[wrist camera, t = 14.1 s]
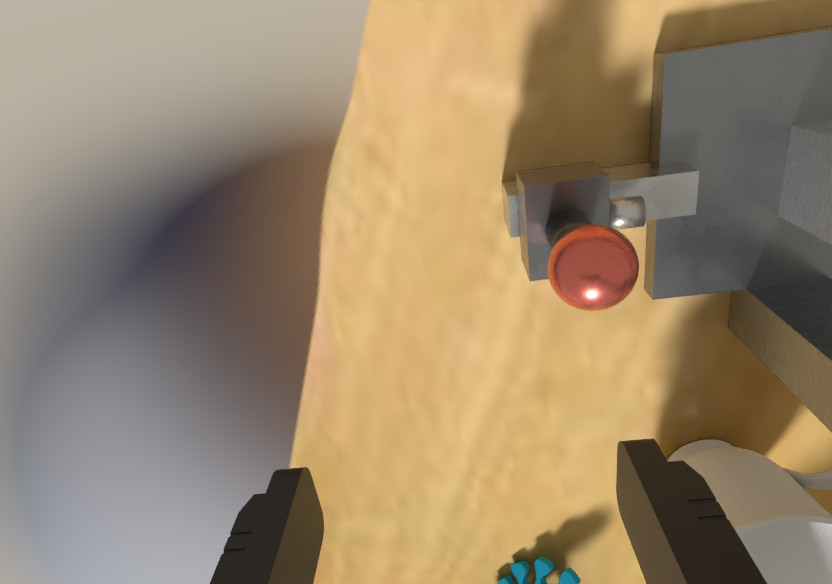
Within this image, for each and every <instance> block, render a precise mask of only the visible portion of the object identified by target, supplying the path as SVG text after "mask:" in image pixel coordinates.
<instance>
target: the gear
mask: <svg viewBox="0 0 832 584" xmlns="http://www.w3.org/2000/svg"><path fill="white" fill-rule="evenodd" d="M534 566H535V570H536V581H535V584H547V582H546V581H545V575H547V574H548V573H549V572H551V571H552V569H553V562H552V561H550V560H549V559H547V558H545V557H542V556H541V557H539V558H538V559H537V560H536V561H535V564H534ZM511 570H512V572H513V574H514V575H515V577H516V578H517V580H518V583H519V584H530V583H529V582H528V580H527V575H528V572H529V564H528V562H527V561H518V562H515V563H514V564H512V565H511ZM579 583H580V578H579V577H578V575H577V574H576V573H575V572H574V571H573V570H572V569H571V568H568V569H566V570H565V571H564V572H563V573H562V574H561V578H560V581H559V583H558V584H579ZM498 584H514V581H513V579H512V578H511V577H510V576H509V575H508V576H506V577H504V578H503V579H502V580H500V581H499V583H498Z"/></svg>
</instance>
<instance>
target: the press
mask: <svg viewBox="0 0 832 584" xmlns="http://www.w3.org/2000/svg"><path fill="white" fill-rule="evenodd" d="M829 120H832V26H829V27H823V28H816V29H810V30H803V31H797V32H790V33H784V34H777V35H770V36H764V37H757V38H751V39H744V40H738V41H731V42H725V43H718V44H712V45H705V46H699V47H692V48H686V49H679V50H673V51H666V52H659V53H654V68H653V92H652V116H651V140H650V162H647V163H639V164H632V165H624V166H617V167H609V168H602V169H603V170H604V171H605V172H606V173H608V174H609V175H610V199H615V198H623V197H631V196H639V195H641V196H642V197H643V199H644V201H645V205H646V221H647V236H646V260H645V284H644V289H645V291H646V292H647V293H648V294H649V296H650V297H651V298H652V299H653V300H654V299H663V298H672V297H681V296H690V295H699V294H708V293H717V292H726V291H732V298H731V306H730V314H729V322H728V327H729V328H730V329H731V330H732V331H733V332H734V333H735V334H736V336H737V337H738V338H739V339H740V340H741V341H742V342H743V343H744V344H745V345H746V346H747V347H748V348H749V349H750V350H751V351H752V352H753V353H754V354H755V355H756V356H757V357H758V358H759V359H760V360H761V361H762V362H763V363H764V364H765V365H766V366H767V367H768V368H769V369H770V370H771V371H772V372H773V373H774V374H775V375H776V376H777V377H778V378H779V379H780V380H781V381H782V382H783V383H784V384H785V385H786V386H787V387H788V389H789V390H790V391H791V392H792V393H793V394H794V395H795V396H796V397H797V398H798V399H799V400H800V401H801V402H802V403H803V404H804V405H805V406H806V407H807V408H808V409H809V410H810V411H811V412H812V413H813V414H814V415H815V416H816V417H817V418H818V419H819V420H820V421H821V422H822V423H823V424H824V425H825V426H826V427H827V428H828V429H829V430H830V431H831V432H832V245H831V244H829V243H827V242H826V241H824V240H822V239H820V238H818V237H816V236H815V235H813V234H811V233H809V232H807V231H805V230H803V229H802V228H800V227H798V226H796V225H794V224H792V223H791V222H789V221H787V220H785V219H783V218H781V217H780V216H778V211H779V205H780V198H781V192H782V185H783V179H784V172H785V166H786V159H787V153H788V146H789V140H790V133H791V127H792V125H799V124H807V123H814V122H822V121H829ZM502 192H503V204H504V217H505V223H506V225H507V228H508V231H509V234H510V237H518V236H520V227H519V212H518V197H517V181H516V180H513V181H505V182H502Z"/></svg>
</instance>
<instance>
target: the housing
mask: <svg viewBox="0 0 832 584" xmlns="http://www.w3.org/2000/svg"><path fill="white" fill-rule="evenodd" d="M778 216H780V217H781V218H783V219H785V220H787V221H789V222H791V223H792V224H794V225H796V226H798V227H800V228H802V229H803V230H805V231H807V232H809V233H811V234H813V235H815V236H816V237H818V238H820V239H822V240H824V241H826V242H827V243H829V244H831V245H832V120H829V121H822V122H814V123H807V124H799V125H792V127H791V133H790V140H789V146H788V153H787V159H786V166H785V172H784V179H783V185H782V192H781V198H780V205H779V211H778Z"/></svg>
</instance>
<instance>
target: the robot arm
mask: <svg viewBox="0 0 832 584" xmlns="http://www.w3.org/2000/svg"><path fill="white" fill-rule="evenodd" d="M616 492H617V501H618V506H619V511H620V514H621V518H622V520H623V523H624V526H625V528H626V531H627V534H628V536H629V539H630V541H631V544H632V547H633V549H634V552H635V555H636V557H637V560H638V562H639V565H640V568H641V570H642V573H643V575H644V578H645V581H646V583H647V584H767V582H766V581H765V579H764V577H763V576H762V574H761V572H760V571H759V569H758V567H757V566H756V564H755V562H754V561H753V559H752V557H751V556H750V554H749V552H748V551H747V549H746V547H745V546H744V544H743V542H742V541H741V539H740V537H739V536H738V534H737V532H736V531H735V529H734V527H733V526H732V524H731V522H730V521H729V519H727V518H726V514H725V512H724V511H723V509H722V507H721V506H720V504H719V502H717V501H716V497H715V496H714V494H713V492H712V491H711V489H710V487H709V486H708V484H707V482H706V481H705V479H704V477H703V476H701V475H700V474H699V473H698V472H696V471H695V470H694V469H693V468H692V467H690V466H689V465H688V464H687V463H686V462H684V461H670V462H667V460H666V458H665V457H664V455H663V453H662V451H661V449H660V447H659V445H658V444H657V442H656V441H655V440H654V439H642V440H630V441H620V442H619V443H618V449H617V485H616ZM323 533H324V520H323V513H322V509H321V506H320V502H319V499H318V496H317V493H316V489H315V486H314V483H313V479H312V476H311V473H310V471H309V469H308V468H307V467H303V468H292V469H280V470H276V471H275V472H274V473H273V475H272V478H271V481H270V483H269V486H268V489H267V491H266V493H265V494H254V495H253V497H252V498H251V499H250V500H249V501H248V502H247V504H246V505H245V506H244V507H243V508H242V510H241V511H240V512H239V513H238V516H237V518H236V520H235V523H234V525H233V528H232V530H231V533H230V534H231V536H230V537H229V538H228V540H227V543H226V545H225V548H224V553H223V554H222V555H221V557H220V560H219V562H218V565H217V567H216V570H215V572H214V575H213V577H212V580H211V582H210V584H313V581H314V577H315V572H316V568H317V563H318V559H319V554H320V550H321V545H322V540H323Z"/></svg>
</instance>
